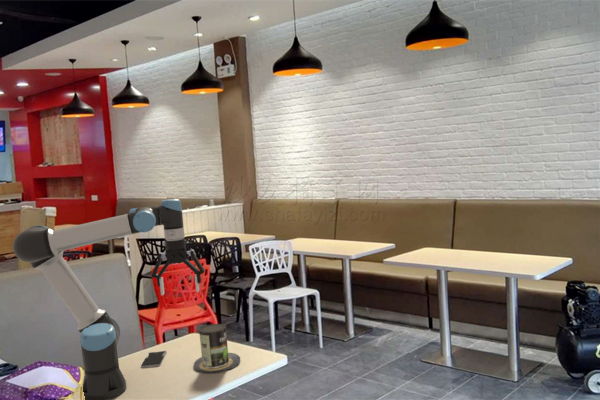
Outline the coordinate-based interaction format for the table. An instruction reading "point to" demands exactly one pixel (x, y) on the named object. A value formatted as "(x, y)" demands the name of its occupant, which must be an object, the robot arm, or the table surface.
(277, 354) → the table surface
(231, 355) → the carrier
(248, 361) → the table surface
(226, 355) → the coffee can
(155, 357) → the smartphone
